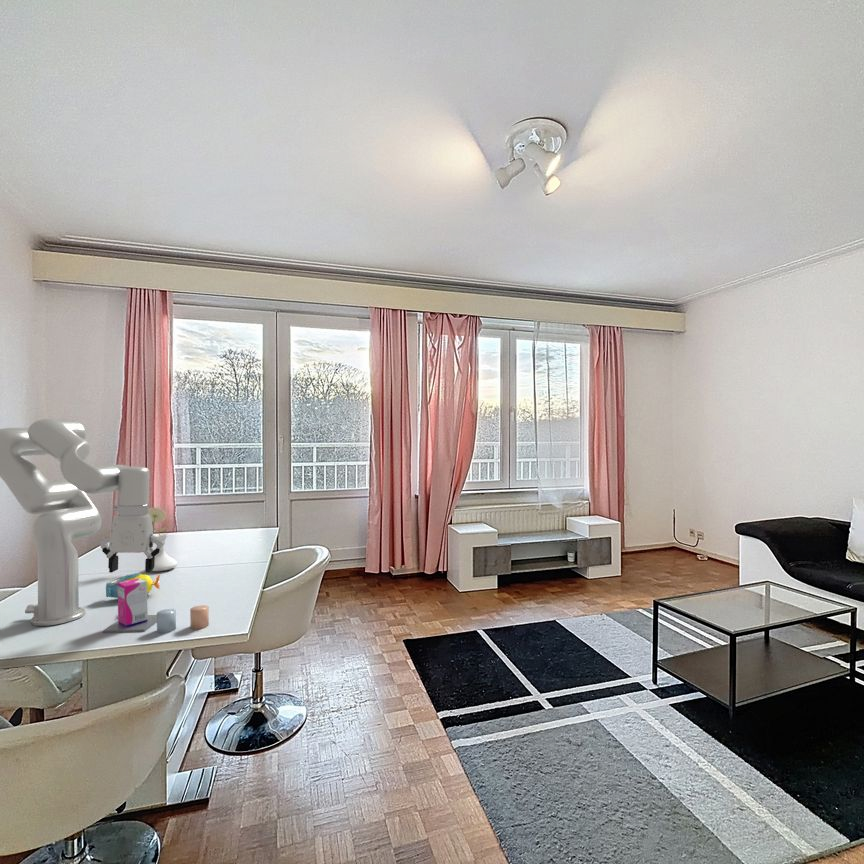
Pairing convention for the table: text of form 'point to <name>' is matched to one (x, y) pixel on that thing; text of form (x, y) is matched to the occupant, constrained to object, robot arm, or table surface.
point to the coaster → (135, 628)
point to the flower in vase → (162, 558)
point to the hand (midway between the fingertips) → (131, 571)
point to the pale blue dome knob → (166, 621)
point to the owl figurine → (113, 588)
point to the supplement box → (132, 602)
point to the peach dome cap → (199, 617)
